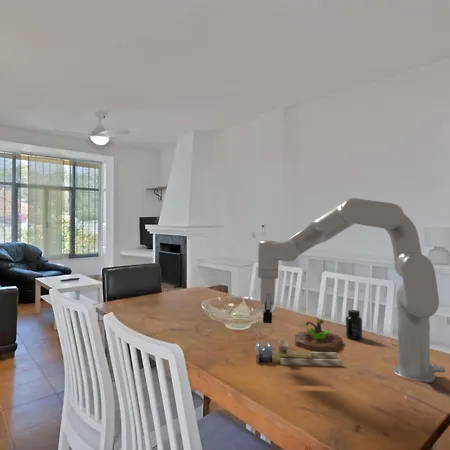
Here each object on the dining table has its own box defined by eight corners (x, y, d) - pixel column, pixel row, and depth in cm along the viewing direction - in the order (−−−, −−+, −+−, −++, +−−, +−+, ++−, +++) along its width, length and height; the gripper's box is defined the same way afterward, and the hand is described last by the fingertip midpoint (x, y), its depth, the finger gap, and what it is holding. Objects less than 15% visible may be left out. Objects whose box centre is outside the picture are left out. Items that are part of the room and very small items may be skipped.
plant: (290, 348, 145) (290, 321, 145) (298, 334, 164) (298, 310, 164) (341, 355, 138) (341, 326, 138) (343, 339, 156) (343, 314, 156)
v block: (255, 347, 146) (255, 340, 146) (272, 347, 145) (272, 341, 145) (255, 354, 138) (255, 347, 138) (274, 354, 137) (274, 347, 137)
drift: (310, 361, 132) (310, 351, 132) (311, 364, 128) (311, 355, 128) (272, 359, 133) (272, 349, 133) (272, 363, 130) (272, 353, 130)
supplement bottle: (364, 337, 158) (364, 310, 158) (358, 341, 153) (358, 313, 153) (349, 334, 163) (349, 308, 163) (343, 337, 158) (343, 311, 158)
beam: (336, 357, 134) (336, 341, 134) (341, 366, 126) (341, 348, 126) (255, 355, 136) (255, 339, 136) (256, 363, 128) (256, 346, 128)
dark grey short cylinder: (268, 344, 135) (273, 354, 134) (257, 348, 135) (262, 359, 135) (268, 348, 130) (273, 359, 129) (257, 353, 130) (263, 364, 130)
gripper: (257, 270, 140) (257, 317, 140) (258, 276, 125) (257, 328, 125) (276, 271, 139) (276, 317, 139) (279, 276, 124) (278, 328, 124)
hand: (267, 322), depth 132 cm, fingers closed
